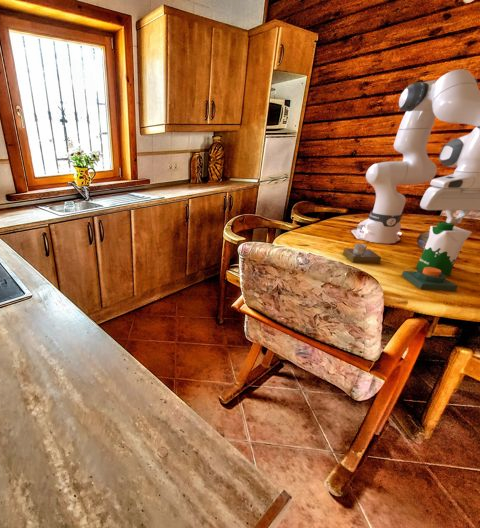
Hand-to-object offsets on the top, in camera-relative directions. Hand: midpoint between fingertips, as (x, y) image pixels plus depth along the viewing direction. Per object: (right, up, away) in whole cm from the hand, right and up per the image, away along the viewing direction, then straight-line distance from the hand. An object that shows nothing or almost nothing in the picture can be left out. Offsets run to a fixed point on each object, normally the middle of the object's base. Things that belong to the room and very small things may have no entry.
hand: (452, 222), depth 94 cm
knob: (-7, -9, +30) cm, 32 cm away
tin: (+32, -8, +35) cm, 49 cm away
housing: (+1, -21, +9) cm, 23 cm away
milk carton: (+12, -17, +17) cm, 27 cm away
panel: (-5, -12, +32) cm, 34 cm away
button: (+1, -18, +8) cm, 20 cm away
